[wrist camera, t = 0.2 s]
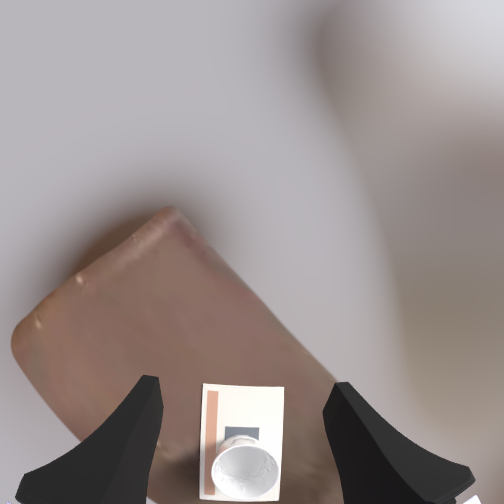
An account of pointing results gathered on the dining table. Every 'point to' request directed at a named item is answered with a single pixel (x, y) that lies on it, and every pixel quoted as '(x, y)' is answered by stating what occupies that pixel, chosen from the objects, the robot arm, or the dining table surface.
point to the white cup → (244, 468)
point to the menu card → (239, 428)
